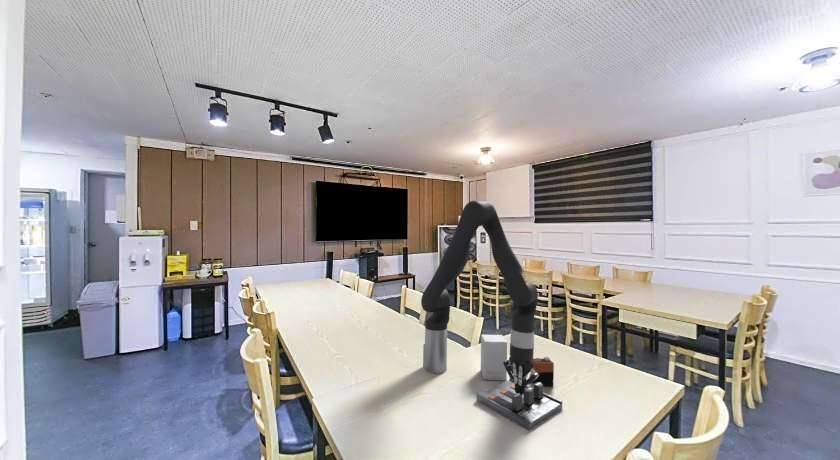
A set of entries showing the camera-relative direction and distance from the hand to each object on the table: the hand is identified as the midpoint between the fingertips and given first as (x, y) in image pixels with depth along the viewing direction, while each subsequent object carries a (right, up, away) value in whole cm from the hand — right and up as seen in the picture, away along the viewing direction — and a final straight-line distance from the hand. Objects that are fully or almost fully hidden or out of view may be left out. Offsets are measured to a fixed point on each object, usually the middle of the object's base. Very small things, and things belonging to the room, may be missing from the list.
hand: (519, 394), depth 105 cm
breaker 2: (+2, -1, -3) cm, 4 cm away
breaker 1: (-3, -1, -6) cm, 7 cm away
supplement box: (-4, -4, +22) cm, 22 cm away
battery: (+13, -4, +15) cm, 20 cm away
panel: (0, -4, 0) cm, 4 cm away
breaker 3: (+7, -1, +1) cm, 7 cm away
